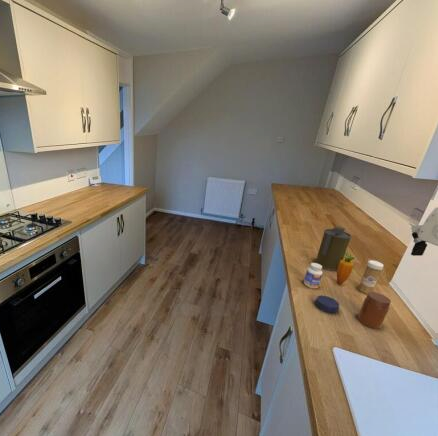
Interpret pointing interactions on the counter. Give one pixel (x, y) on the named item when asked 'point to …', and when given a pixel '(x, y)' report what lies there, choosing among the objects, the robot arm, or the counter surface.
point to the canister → (333, 248)
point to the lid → (327, 304)
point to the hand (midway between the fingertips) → (434, 263)
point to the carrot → (345, 268)
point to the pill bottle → (313, 275)
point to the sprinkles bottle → (370, 276)
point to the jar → (374, 310)
